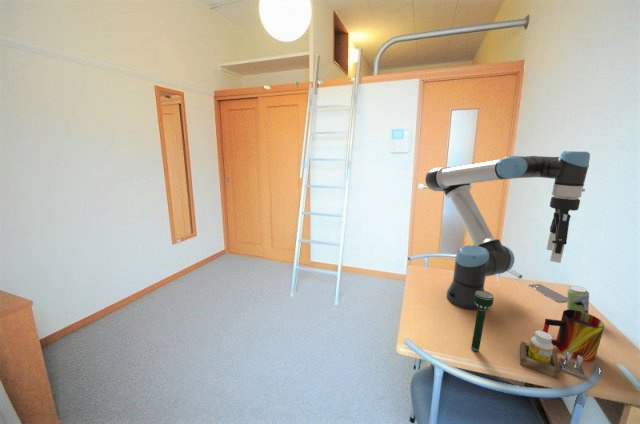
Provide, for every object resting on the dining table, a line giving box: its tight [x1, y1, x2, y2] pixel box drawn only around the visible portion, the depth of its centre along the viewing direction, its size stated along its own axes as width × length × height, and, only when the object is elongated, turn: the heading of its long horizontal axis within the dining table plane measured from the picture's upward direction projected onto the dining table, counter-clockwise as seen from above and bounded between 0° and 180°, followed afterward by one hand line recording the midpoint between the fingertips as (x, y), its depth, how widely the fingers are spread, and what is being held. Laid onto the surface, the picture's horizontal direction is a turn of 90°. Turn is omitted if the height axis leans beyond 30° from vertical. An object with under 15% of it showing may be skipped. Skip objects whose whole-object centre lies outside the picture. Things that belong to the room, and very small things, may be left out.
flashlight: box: [470, 290, 494, 353], centre depth 87 cm, size 5×5×20 cm
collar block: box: [519, 340, 562, 379], centre depth 84 cm, size 9×9×2 cm
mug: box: [542, 309, 606, 363], centre depth 88 cm, size 10×14×12 cm
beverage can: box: [566, 285, 590, 314], centre depth 107 cm, size 6×7×12 cm
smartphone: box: [527, 283, 568, 303], centre depth 126 cm, size 7×1×15 cm
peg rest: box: [558, 351, 585, 379], centre depth 81 cm, size 5×5×5 cm
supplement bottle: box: [526, 330, 554, 365], centre depth 83 cm, size 5×5×10 cm
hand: (552, 255), depth 99 cm, fingers open, 13 cm apart
